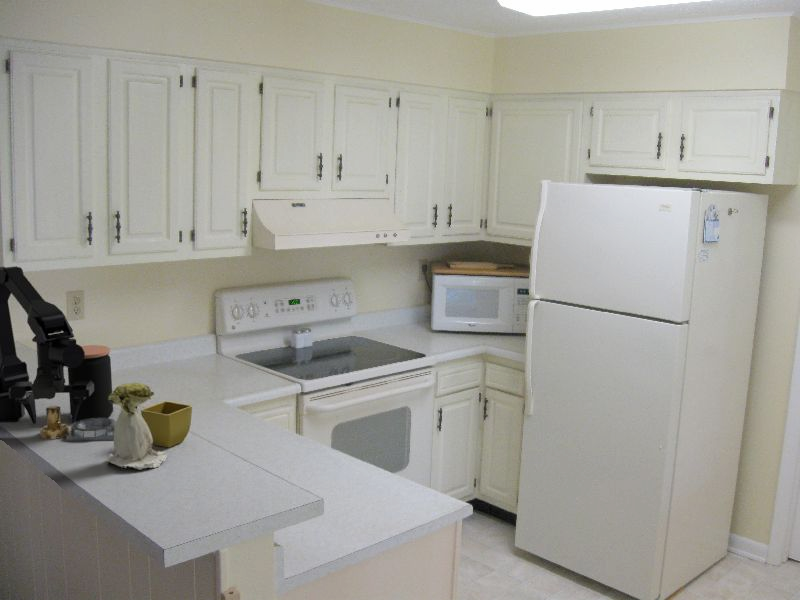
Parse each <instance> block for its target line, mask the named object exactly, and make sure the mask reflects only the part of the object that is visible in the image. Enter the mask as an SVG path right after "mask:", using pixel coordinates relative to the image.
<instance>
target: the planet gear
mask: <svg viewBox="0 0 800 600" xmlns="http://www.w3.org/2000/svg"><path fill="white" fill-rule="evenodd" d="M45 410H46V411H45V412H46V425H43V427H40V428H39V429H40V430H39V431H40V434H39V435H40V437H41V436H42V439H43V438H45V439H44V440H47V439H48V438H51V439H50V440H56V439H58V438H57V437H60V438H61V437H63V438H65V437H64V436H66V437H67V435H66V434H69V433H70V429H69V425H67V423H62V414H61V406H60V405H50V406H48V407H46V408H45ZM46 438H47V439H46Z"/></svg>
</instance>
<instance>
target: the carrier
mask: <svg viewBox="0 0 800 600" xmlns="http://www.w3.org/2000/svg"><path fill="white" fill-rule="evenodd" d="M116 421H117V420H115V419H114V418H110V417H108V418H90V419H84V420H80V421H75V422H74V423H72V424H71V426H70V431H69V434H68V435H66V437H65V440H66V442H90V441H91V442H92V441H93V442H94V441H95V442H96V441H114V427H115V424H116Z"/></svg>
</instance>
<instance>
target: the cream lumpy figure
mask: <svg viewBox="0 0 800 600" xmlns="http://www.w3.org/2000/svg"><path fill="white" fill-rule="evenodd" d="M151 389H152V387H150V386H148V385H146V384H144V383H139V382H131V383H123V384H120V385H118V386H116V387H115V389H114V390H112V393H111V394H110V395H109V397H108V400H109V402H111V403H112V404H113V405H117V406H119V407H121V408H120V409H121V410H120V412H119V415H118V417H117V419H116V420H115V421H116V424H115V427H114V440H113V448H114V451H115V452H114V455H113V454H112V453H110V454H109V455H108V458H107V463H106V464H109V463H111V464H114V465H116V466H118V467H121V469H122V468H125V469H127V467H128V468H129V469H130V468H134V469H137V470H139V471H140V470H143V469H147V468H150V469H152V468H154V469H155V468H159V467H160V466H161V464H162V463H163V462H165V461H166V459H167V457H168V455H167V452H165V451H160V450H158V451H156V450H154V449H152V447H153V445H152V444H153V440H152V435H151V432H150V430H149V428H148V425H147V424H146V422H145V420H144V419H143V417H142V414H141V412H139V410H138V407H139V406H140V405H142V404H144V403H146V402H147V401H149V400H151V398H152V397H154V396H155V392H154V391H152V390H151Z"/></svg>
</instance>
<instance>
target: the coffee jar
mask: <svg viewBox="0 0 800 600" xmlns="http://www.w3.org/2000/svg"><path fill="white" fill-rule="evenodd" d="M80 346H81V347H82V348H83V350H84V352H85V357H84V360H83V362H82V363H81V365H79V366H78V367H76V368H69V367H67V376H68V377H67V378H68V381H67V382H68V385H73V384H74V383H75V382H76V381H87V380H91V381H92V382H93V383H94V392H93V393H92V394H91V395H90V396H89V397H86V398H85V399H84V400H82V402H81V405H80V407H79V410H78V414H77V417H76V420H75V422H78V421H80V420H84V419H90V418H110V417H111V416H112V414H113V412H114V404H112V403H111V402H109V400H108V397H109V395H110V394H111V393H113V383H112V381H113V380H112V365H111V364H112V363H111V357H110V352H111V348H110V347H108V346H106V345H99V344H93V345H92V344H90V345H80ZM68 395H69V410H70V411H69V412H70V416H71V417H72V401H71V399H72V397H73V395H72V393H68Z"/></svg>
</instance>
